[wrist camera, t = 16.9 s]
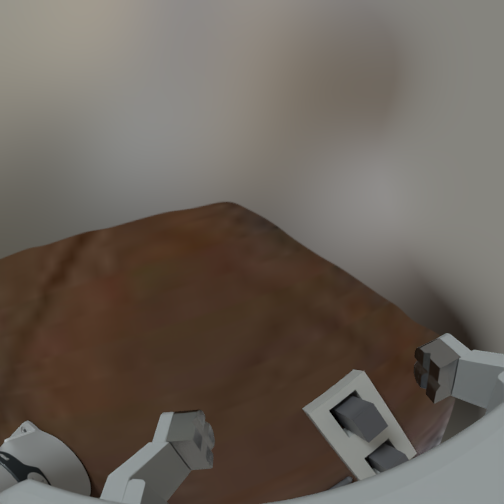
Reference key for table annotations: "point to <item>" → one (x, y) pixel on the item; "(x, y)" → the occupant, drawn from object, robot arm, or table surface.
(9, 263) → the table surface
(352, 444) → the power strip
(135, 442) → the table surface
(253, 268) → the table surface
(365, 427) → the plug
